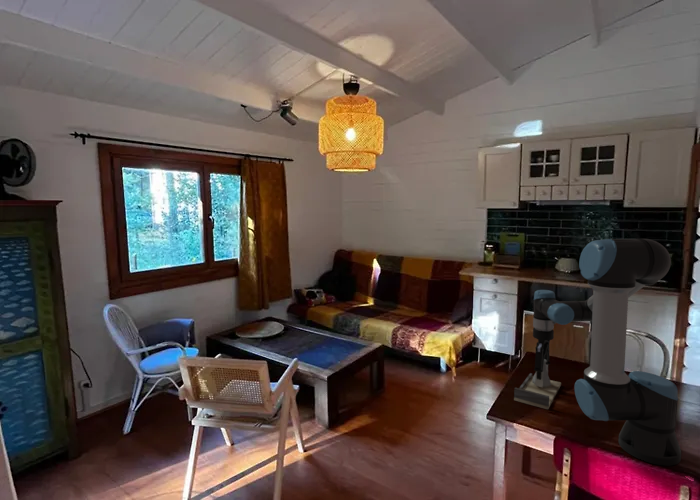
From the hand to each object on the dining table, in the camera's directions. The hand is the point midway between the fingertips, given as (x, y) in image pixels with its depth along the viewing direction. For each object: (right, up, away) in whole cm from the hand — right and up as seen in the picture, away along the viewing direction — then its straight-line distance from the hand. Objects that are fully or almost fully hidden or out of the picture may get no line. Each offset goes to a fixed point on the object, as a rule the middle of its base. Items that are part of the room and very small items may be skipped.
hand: (541, 382), depth 161 cm
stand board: (-3, -3, -4) cm, 5 cm away
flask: (0, 0, 0) cm, 1 cm away
